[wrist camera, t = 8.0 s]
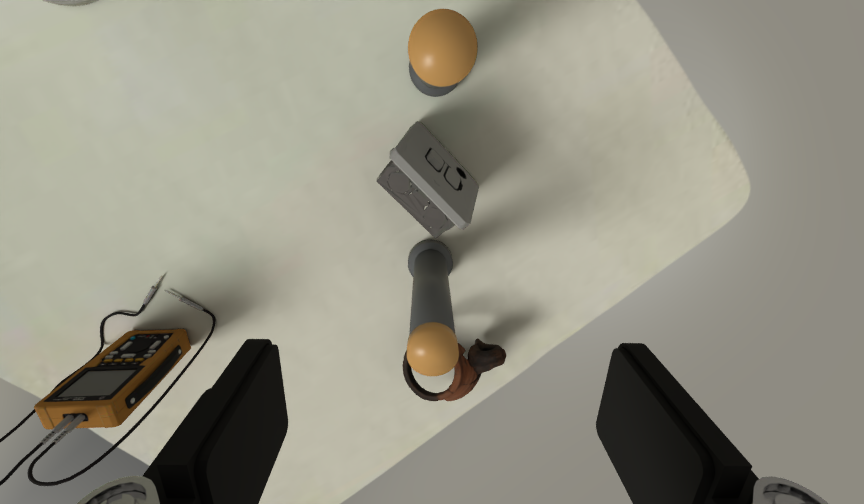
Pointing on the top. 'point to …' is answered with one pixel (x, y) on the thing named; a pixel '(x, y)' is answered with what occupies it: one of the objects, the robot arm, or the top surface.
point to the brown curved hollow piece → (461, 371)
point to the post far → (431, 310)
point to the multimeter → (111, 384)
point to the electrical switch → (429, 182)
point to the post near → (441, 51)
